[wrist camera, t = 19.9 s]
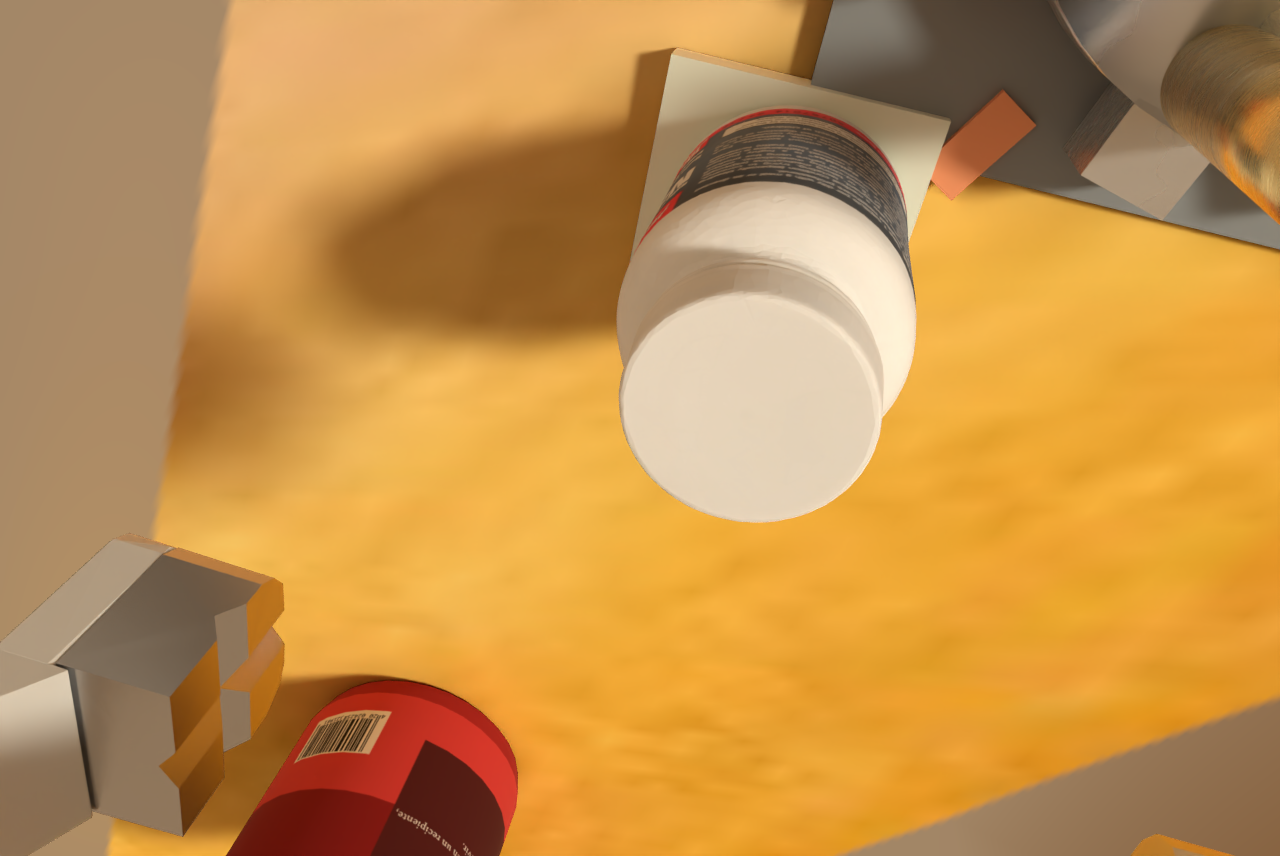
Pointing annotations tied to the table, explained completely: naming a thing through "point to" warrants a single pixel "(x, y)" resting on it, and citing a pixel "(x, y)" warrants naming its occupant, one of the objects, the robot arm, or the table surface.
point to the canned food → (389, 780)
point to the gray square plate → (1002, 99)
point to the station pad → (728, 89)
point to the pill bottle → (768, 317)
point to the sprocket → (1179, 97)
